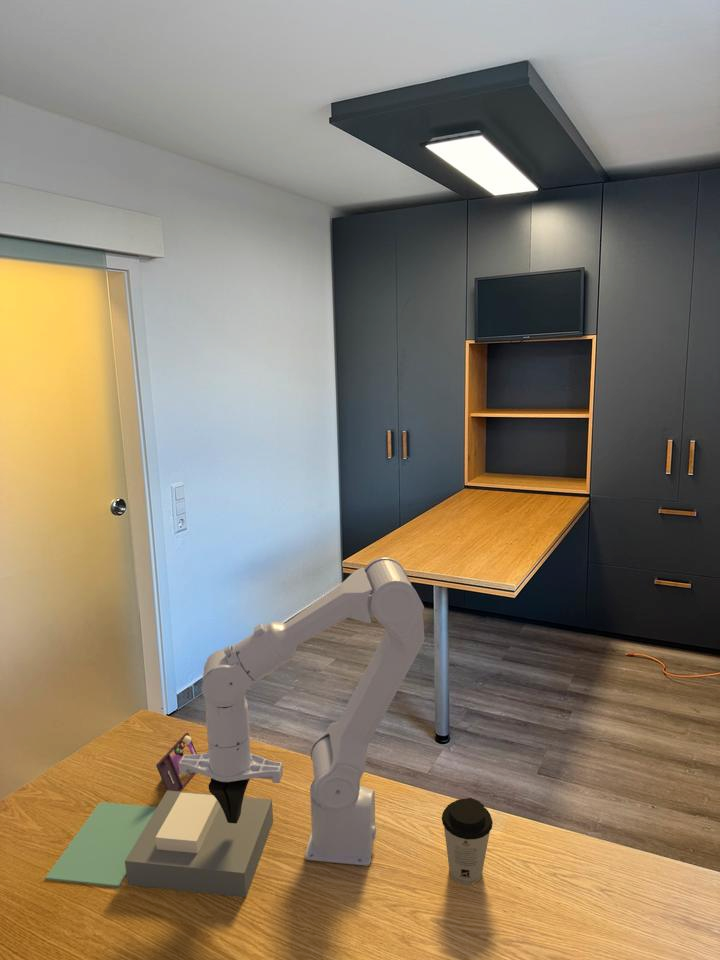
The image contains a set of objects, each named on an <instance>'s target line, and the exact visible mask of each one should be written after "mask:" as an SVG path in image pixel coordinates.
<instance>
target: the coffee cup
mask: <svg viewBox="0 0 720 960" xmlns="http://www.w3.org/2000/svg"><path fill="white" fill-rule="evenodd" d="M441 823H442V826H443V827H444V828H443V829H444V836H445V845H446V853H447V854H446V855H447V861H448V862H447V863H448V868H449V874H450V877H452V879H453V880H454V881H456V882H457V883H458V884H462V885H473V883H474V884H476V883H477V881H478V882H479V881H480V880H481V878H482V877H483V876H482V875H483V870H484V865H485V859H486V856H487V855H486V854H487V848H488V844H489V838H490V832H491V830H492V828H493V823H494V822H493V818H492V815H491V813H490V812H489V811H488V809H487V808H486V806H485V805H484V804H483V803H482V802H480V801H479V800H477V799H474V798H472V797H467V798H460V799H456V800H455V801H452V802H451V803H449V804H447V806H446V807H445V809H444V810H443V811H442V816H441Z"/></svg>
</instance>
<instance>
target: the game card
mask: <svg viewBox="0 0 720 960" xmlns="http://www.w3.org/2000/svg"><path fill="white" fill-rule="evenodd" d="M185 745H186V747H187V748H188V749H189V752H190V755H194V754H198V753H197V750H196V748H195V746H194V743H193V741H192V737H191V736H190V734H189V732H186V733H184V734H183V735H182V736H181V737H180V739H178V740H177V742H176V743H174V745H173V746H172V747H171V748H170V750H168V751H167V753H165V755H163V757H162V758H161V759H160V760H159V761H158V762H157V763H156V764H155V765H156V768H157V771H158V773H159V777H160V778H161V780H160V781H161V782H162V784H163V785H164V788H165V790H166V791H167V790H168V791H179V792H183V790H184V789H185V788H186V786H187V785H188V784H189V782H190V781H191V780H192V779H193V778H194V776H196V774H197V773H191V774H190V775H189V777H188V778H187V779H186V780H185V781H184V782H183V783H182V780H181V778H180V776H179V775H180V772H179V762H180V760H181V759H182V757H183V755H184V749H185ZM172 752H174V753H173V754H172ZM171 754H172V755H171Z"/></svg>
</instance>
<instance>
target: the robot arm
mask: <svg viewBox="0 0 720 960" xmlns="http://www.w3.org/2000/svg"><path fill="white" fill-rule="evenodd" d="M424 609H425V606H424V604H423V602H422V600H421V598H420V597H419V594H418V592H417V591H416V589H415V588H414V586H413V585H412V582H411V581H410V579H409V577H408V575H407V573H406V571H405V569H404V567H403V566H402V564H401V563H400V562H398V560H397V559H394V558H391V557H379V558H375V559H373V560H371V561H370V562H369V563H368V564H367V565H366V566H365V567H360V568H358V569H356V570H354V571H353V572H352V573H351V574H350V575H349V576H348V577H346V579H344V580H343V582H341V583H340V584H339V585H337V586H336V587H335V588H334V587H333V589H332V590H330V591H329V592H328V593H325V594H324V595H323V596H321V597H320V598H319V599H317V600H316V601H315V602H313V603H312V604H310V605H309V606H307V607H306V608H305V609H303V610H302V611H301V612H299V613H298V614H296V615H295V616H293V617H292V618H291V619H289V620H288V621H287V622H277V621H271V622H269V623H267V624H266V625H264V624H263V623H260V624H257V626H254V627H253V633H252V634H250V635H248V636H247V637H245V638H244V639H242V640H240V641H239V642H237V643H236V644H234V645H232V644H229V645H227V646H226V647H225V648H224V649H219V650H216V651H214V652H212V654H210V655H209V656H208V657H207V658H206V661H205V663H204V667H203V674H202V680H201V694H202V697H203V698H204V702H205V704H206V706H205V720H206V722H205V724H206V735H207V737H206V738H207V747H208V752H202V753H197V754H194V755H192V754H184V753H183V754H184V755H183V757H182V759H181V760H180V762H179V772H180V774H179V775H181V776H186V775H188V774H189V773H191V774H192V773H196V774H200V775H202V776H205V777H207V778H210V782H209V783H208V791H209V794H212V795H213V796H214V797H215V798H216V799H217V800H218V802H219V804H220V805H221V807H222V809H223V811H224V814H225V816H226V819H227V822H228V823H235V824H236V823H237V822H238V819H239V817H240V815H241V807H242V801H243V797H245V792H246V790H247V787H248V785H249V781H250V780H251V779H263V780H271V782H272V783H273V784H280V783H281V780H282V778H283V776H284V773H283V772H284V771H283V770H284V768H283V767H284V766H283V762H281V761H275V760H271V759H267V758H265V757H262V756H259V755H257V754H255V753H251V741H250V740H251V738H250V737H251V736H250V722H249V707H248V706H249V705H248V700H247V699H246V694H247V691H248V689H249V688H250V687H251V686H252V685H253V684H255V683H257V682H258V681H260V680H261V679H263V678H265V677H266V676H268V675H269V674H271V673H273V672H274V671H275V670H277V669H279V668H281V667H282V666H284V665H285V664H286V663H288V662H290V661H291V660H293V659H294V658H295V654H296V650H297V647H298V646H299V645H301V644H302V643H304V642H307V641H308V640H310V639H312V638H313V637H316V636H317V635H319V634H321V633H323V632H324V631H326V630H328V629H330V628H331V627H333V626H335V625H337V624H339V623H340V622H342V621H345V620H346V619H352V620H355V621H359V622H362V623H366V624H371V623H372V620H371V617H370V616H371V615H373V616H374V618H376V620H377V621H378V622H379V623H380V624H381V625H382V626H383V627H384V629H385V632H384V635H383V636H382V638H381V639H380V642H379V644H378V645H377V648H376V649H375V651H374V653H373V655H372V656H371V659H370V661H369V662H368V664H367V666H366V669H364V672H363V674H362V676H361V677H360V679H359V682H358V683H357V685H356V687H355V689H354V691H353V692H352V695H351V697H350V699H349V700H348V702H347V704H346V706H345V708H344V710H343V712H342V714H341V715H340V717H339V719H338V721H336V722H335V721H334V722H331V723H330V724H329V726H328V728H327V729H326V731H325V732H324V733H323V734H321V735H320V736H319V737H317V738H316V739H315V740H314V741H313V743H312V745H311V747H310V759H311V762H312V771H313V780H312V781H311V784H310V786H309V787H310V788H309V794H310V796H309V797H310V798H309V799H310V822H311V831H310V836H309V839H308V843H307V847H306V850H305V854H304V859H305V860H306V861H317V862H325V863H326V862H327V863H336V864H347V865H357V866H367V867H368V866H369V865H370V864H371V862H372V861H371V860H372V854H373V847H374V842H375V840H376V836H377V835H376V834H377V832H376V831H377V827H376V826H377V825H376V797H375V796H376V794H375V790H373V789H370V788H367V787H364V786H363V785H361V784H360V783H361V779H362V776H363V775H364V773H365V769H366V762H367V752H368V747H369V744H370V743H371V740H372V739H373V737H374V735H375V733H376V731H377V729H378V727H379V726H380V724H381V722H382V720H383V719H384V716H385V715H386V713H387V711H388V709H389V707H390V705H391V704H392V702H393V701H394V698H395V697H396V694H397V692H398V691H399V689H400V687H401V685H402V683H403V681H404V680H405V678H406V676H407V673H408V672H409V671H410V668H411V666H412V665H413V663H414V661H415V659H416V657H417V656H418V654H419V652H420V650H421V648H422V647H423V645H424V642H425V627H424V615H423V613H424V612H423V611H424Z"/></svg>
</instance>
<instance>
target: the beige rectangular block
mask: <svg viewBox="0 0 720 960" xmlns="http://www.w3.org/2000/svg"><path fill="white" fill-rule="evenodd" d="M182 792H183V791H181V793H180V795H179V797H178V799H177V800H176V802H175V804H174V806H173V807H172V809H171V811H170V813H169V814H168V816H167V818H166V820H165V821H164V823H163V825H162V827H161V828H160V830H159V832H158V834H157V835H156V847H157V849H160V850H170V851H180V852H190V853H198V852H199V850H200V847H201V845H202V843H203V841H204V839H205V837H206V835H207V833H208V831H209V828H210V826H211V824H212V822H213V820H214V818H215V816H216V814H217V812H218V809H219V807H220V805H219V802H218V800H217V799H216V798H215V797H214V796H213V795H205V794H206V793H203V794H194V793H195V792H191V793H182Z"/></svg>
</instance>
